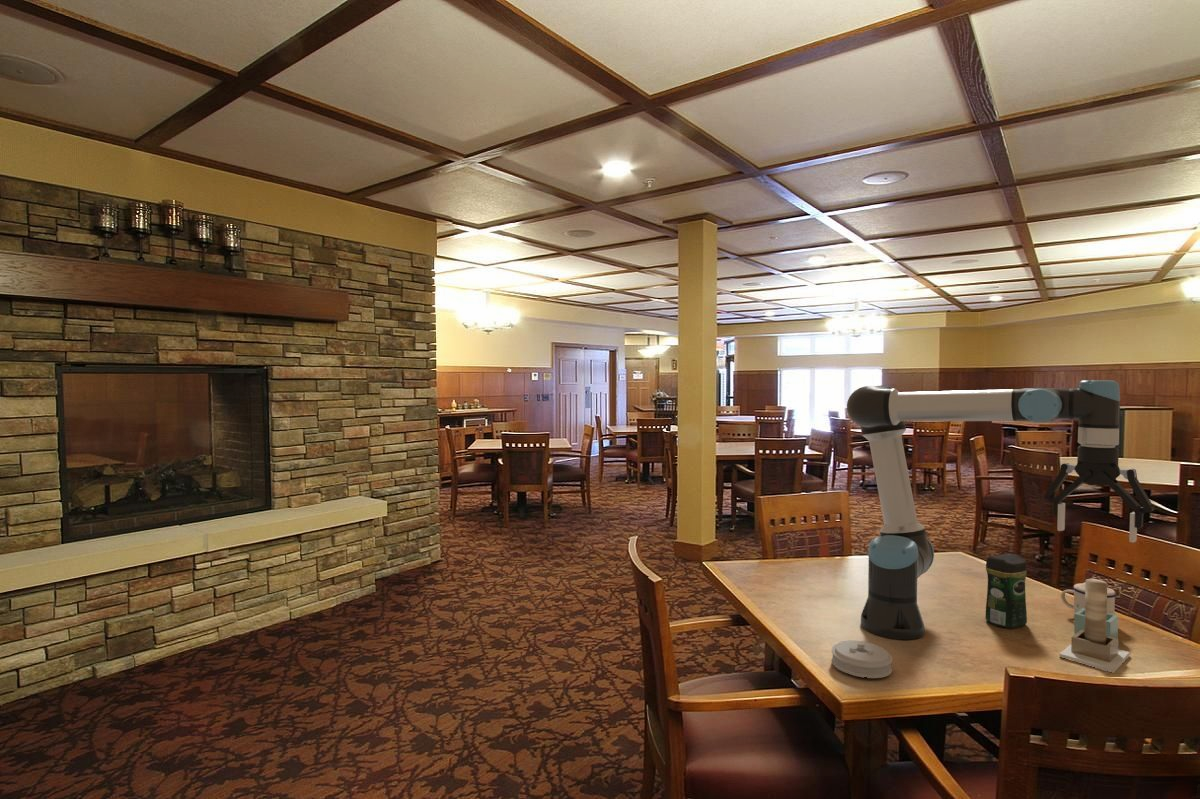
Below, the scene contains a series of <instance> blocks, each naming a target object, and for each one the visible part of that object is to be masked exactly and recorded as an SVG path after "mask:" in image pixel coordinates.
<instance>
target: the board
mask: <svg viewBox="0 0 1200 799" xmlns="http://www.w3.org/2000/svg"><path fill="white" fill-rule="evenodd" d="M1130 653H1131V652H1130V651H1126V650H1123V649H1119V648H1118V655H1117V656H1116V657H1115V658H1114V659H1113V660H1112V661H1111V662H1106V661H1103V660H1099V659H1096V658H1092V657H1088V656H1085V655H1081V654H1078V653H1074V652H1071V644H1069V645H1068V646H1067V647H1065V649H1063V650H1062V651H1060V653H1059V656H1060V657H1063V658H1067V659H1071V660H1074V661H1077V662H1081V663H1083V664H1087V665H1090V666H1092V667H1091V668H1093V667H1095V668H1094V669H1097V668H1099V669H1098V670H1100V669H1101V671H1104V672H1107V671H1108V672H1107V673H1110V672H1112V673H1111V674H1114V673H1115V672H1116V671H1117V670H1118V669H1119V668H1120V667H1121V666H1122V665H1123V664H1124V662H1126V661H1125V660H1126V659H1127V660H1128V659H1129V658H1130ZM1122 663H1123V664H1122ZM1083 664H1082V665H1083ZM1090 666H1089V667H1090Z"/></svg>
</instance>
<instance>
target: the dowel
mask: <svg viewBox="0 0 1200 799" xmlns="http://www.w3.org/2000/svg"><path fill="white" fill-rule="evenodd" d="M1096 579H1097V578H1086V579H1085V582H1086V585H1085V633H1084V639H1085V640H1089V641H1092V642H1096V643H1100V644H1104V645H1106V622H1107V588H1108V582H1107V581H1104V580H1101V579H1097V580H1096Z"/></svg>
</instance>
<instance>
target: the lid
mask: <svg viewBox="0 0 1200 799" xmlns="http://www.w3.org/2000/svg"><path fill="white" fill-rule="evenodd" d="M831 654H832V657H831V664H832V665H833V666H834V667H835V668H836V669H837V670H839V671H841V672H843V673H846V674H849V675H852V676H855V677H860V678H864V677H867V679H880V678H881V679H882V678H885V677H888V676H890V675H891V674H892V672H893V667H892V665H891V664H892V662H893V657H892V655H891V654H890V653H889V652H888V651H887V650H886V649H884V648H883V647H881V646H880V645H877V644H874V643H871V642H868V641H863V640H857V639H856V640H853V639H852V640H851V639H850V640H849V639H848V640H842V641H839V642H838V643H836V644H834V645H832V647H831Z"/></svg>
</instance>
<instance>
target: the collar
mask: <svg viewBox="0 0 1200 799" xmlns="http://www.w3.org/2000/svg"><path fill="white" fill-rule="evenodd" d="M1084 633H1085V631H1084V630H1080V631H1079V632H1077V633H1076V634H1075V635H1074V634H1073V635H1072V636H1071V644H1070V645H1071V652H1074V653H1078V654H1081V655H1085V656H1088V657H1092V658H1096V659H1099V660H1103V661H1106V662H1111V661H1112V660H1113V659H1114V658H1115V657H1116V656H1117V655H1118V649H1119V638H1118V639H1115V638H1111V637H1107V636H1106V645H1104V644H1100V643H1096V642H1092V641H1089V640H1085V639H1084Z"/></svg>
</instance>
